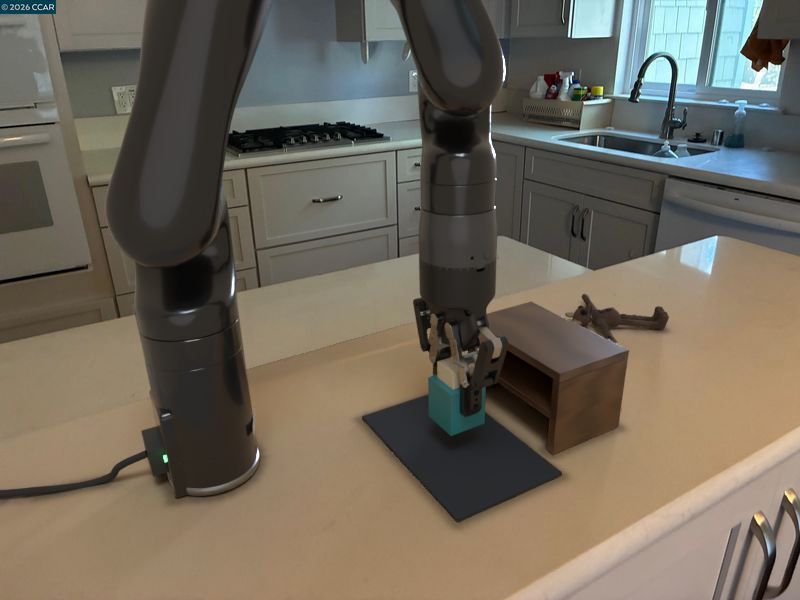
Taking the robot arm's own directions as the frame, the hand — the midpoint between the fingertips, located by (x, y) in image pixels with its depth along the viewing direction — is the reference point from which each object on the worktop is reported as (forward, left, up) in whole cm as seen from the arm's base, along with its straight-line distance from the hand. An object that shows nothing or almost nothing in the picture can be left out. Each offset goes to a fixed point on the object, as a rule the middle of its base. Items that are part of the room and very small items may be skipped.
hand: (456, 401), depth 66 cm
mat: (0, 0, -5) cm, 5 cm away
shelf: (+13, +1, -5) cm, 14 cm away
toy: (0, 0, -2) cm, 2 cm away
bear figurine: (+38, +12, -6) cm, 40 cm away
